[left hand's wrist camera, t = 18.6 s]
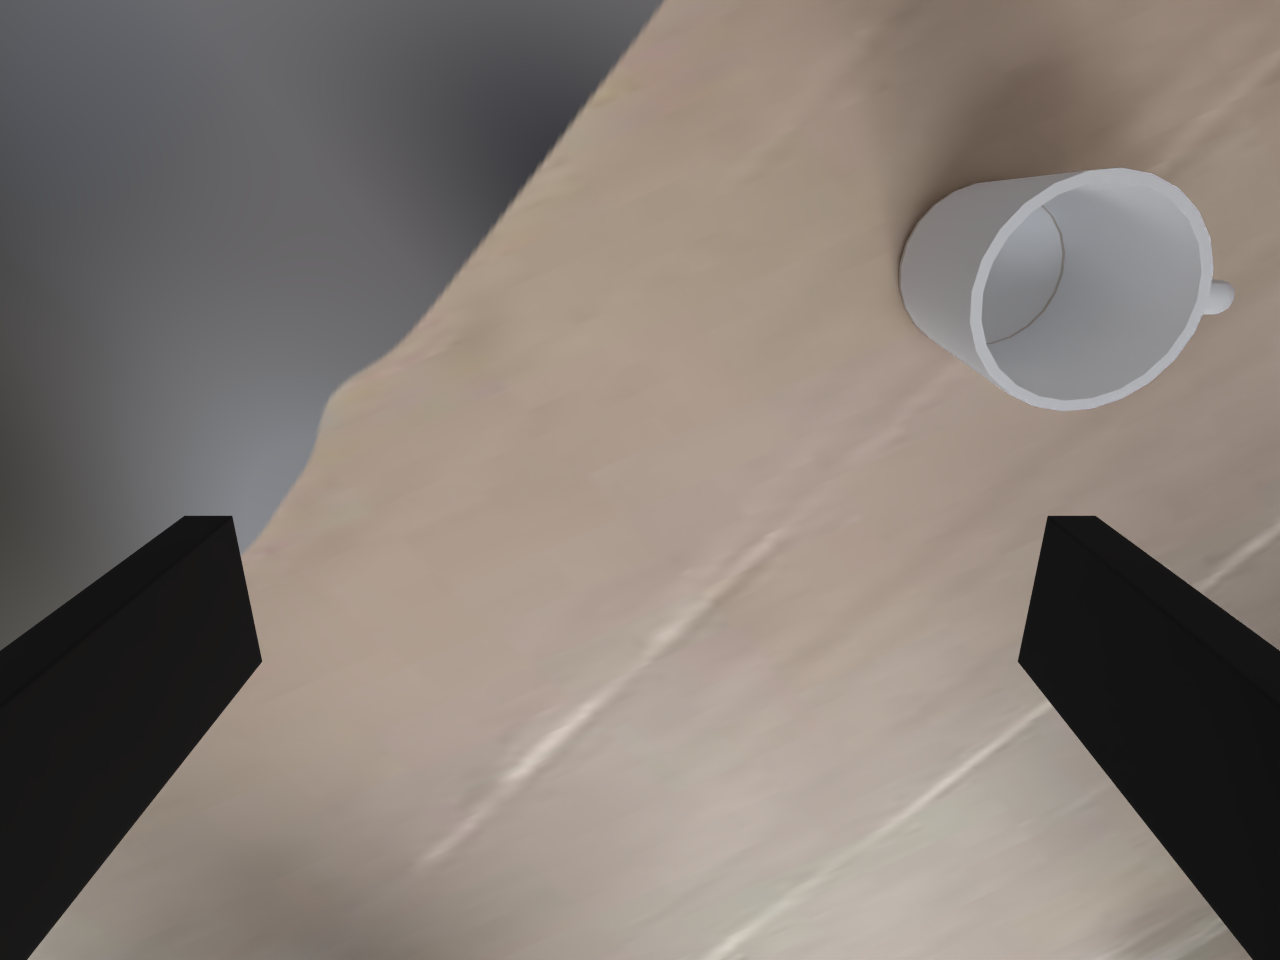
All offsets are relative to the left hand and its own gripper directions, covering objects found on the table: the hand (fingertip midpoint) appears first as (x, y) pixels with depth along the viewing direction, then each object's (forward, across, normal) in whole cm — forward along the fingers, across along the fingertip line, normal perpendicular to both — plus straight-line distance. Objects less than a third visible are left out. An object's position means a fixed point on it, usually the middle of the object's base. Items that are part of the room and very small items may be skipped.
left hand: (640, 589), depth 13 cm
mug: (+29, +18, +2) cm, 34 cm away
